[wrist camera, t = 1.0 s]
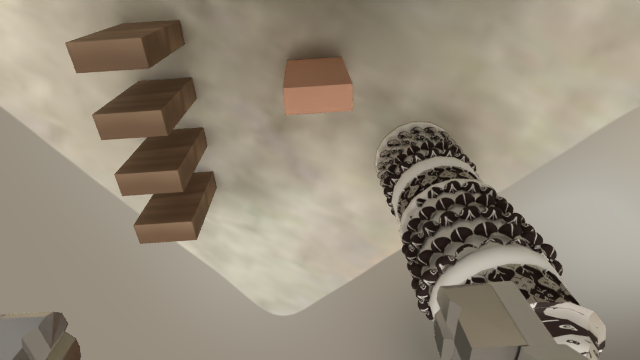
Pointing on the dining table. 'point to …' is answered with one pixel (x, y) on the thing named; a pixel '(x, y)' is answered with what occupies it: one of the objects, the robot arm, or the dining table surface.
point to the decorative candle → (472, 234)
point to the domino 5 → (317, 86)
